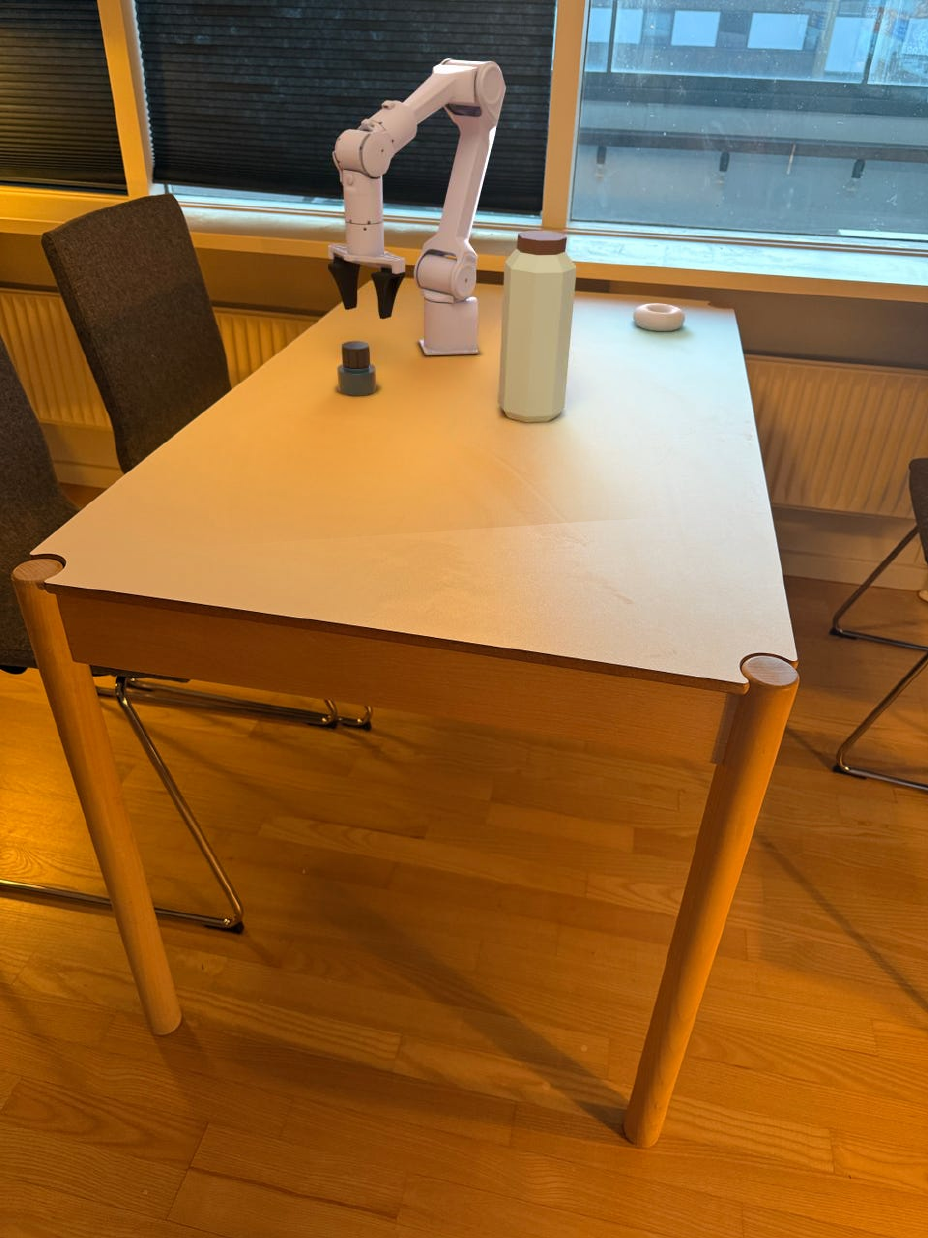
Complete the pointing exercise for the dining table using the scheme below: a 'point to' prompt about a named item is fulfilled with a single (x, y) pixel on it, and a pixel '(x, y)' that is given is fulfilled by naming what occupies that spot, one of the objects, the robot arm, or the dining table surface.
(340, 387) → the bottle
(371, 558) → the dining table surface
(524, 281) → the water bottle
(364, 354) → the cap
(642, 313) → the donut
